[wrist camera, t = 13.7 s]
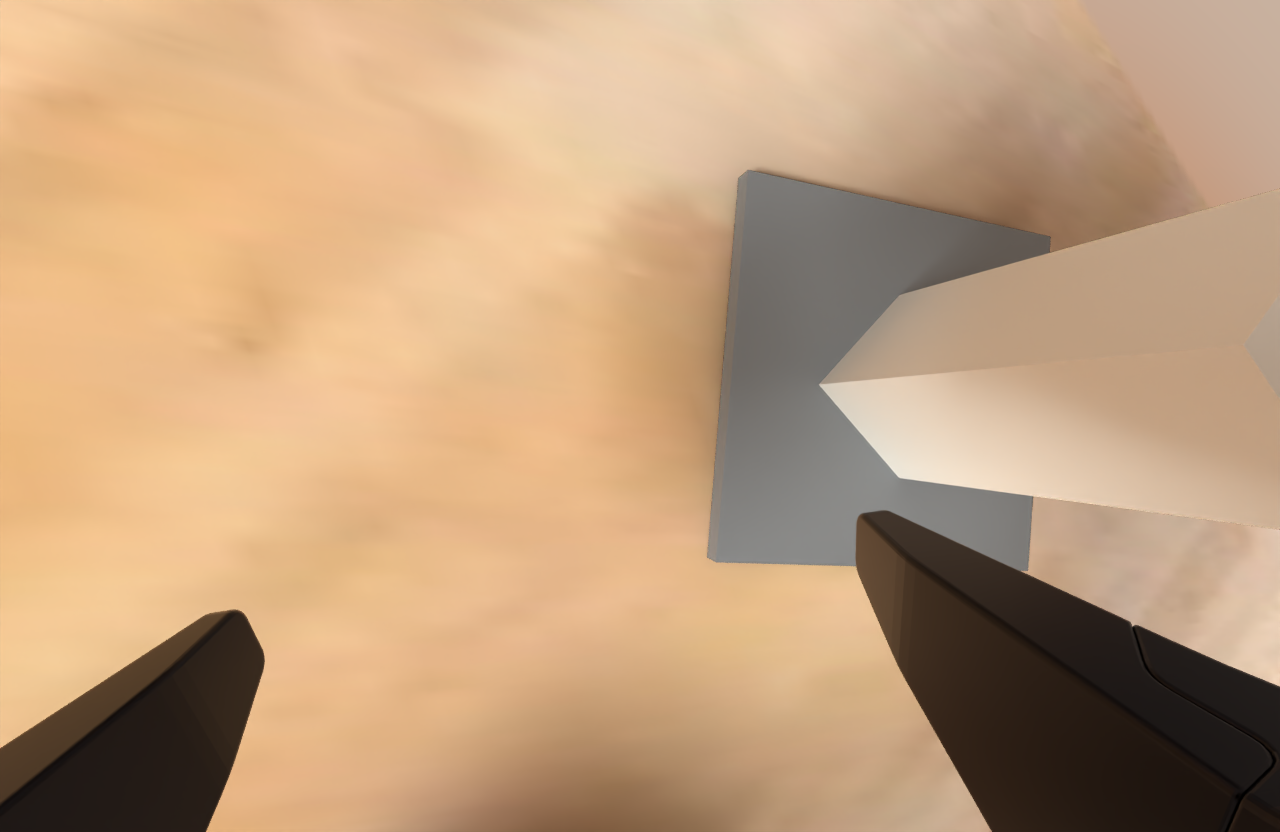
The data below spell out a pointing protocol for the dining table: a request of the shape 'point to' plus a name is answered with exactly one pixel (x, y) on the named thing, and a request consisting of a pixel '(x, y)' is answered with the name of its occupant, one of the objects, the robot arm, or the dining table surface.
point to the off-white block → (1092, 372)
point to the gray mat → (807, 352)
